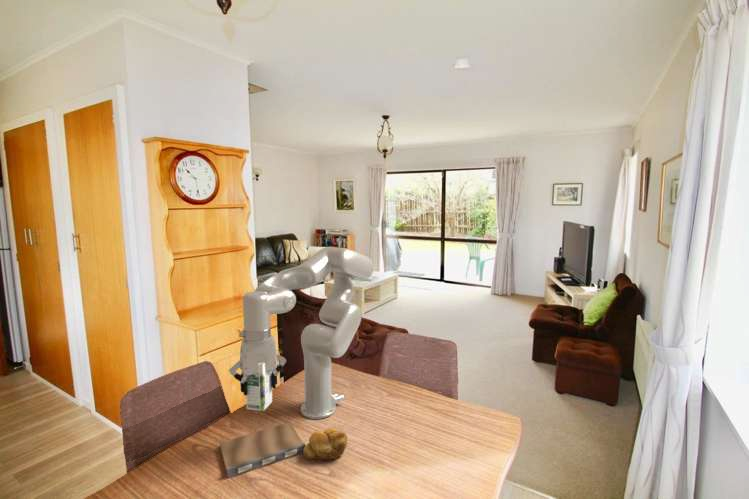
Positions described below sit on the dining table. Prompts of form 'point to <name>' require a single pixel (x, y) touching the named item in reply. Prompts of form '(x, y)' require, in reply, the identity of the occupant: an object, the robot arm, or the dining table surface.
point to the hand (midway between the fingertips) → (259, 389)
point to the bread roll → (326, 445)
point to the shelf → (260, 449)
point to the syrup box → (259, 389)
